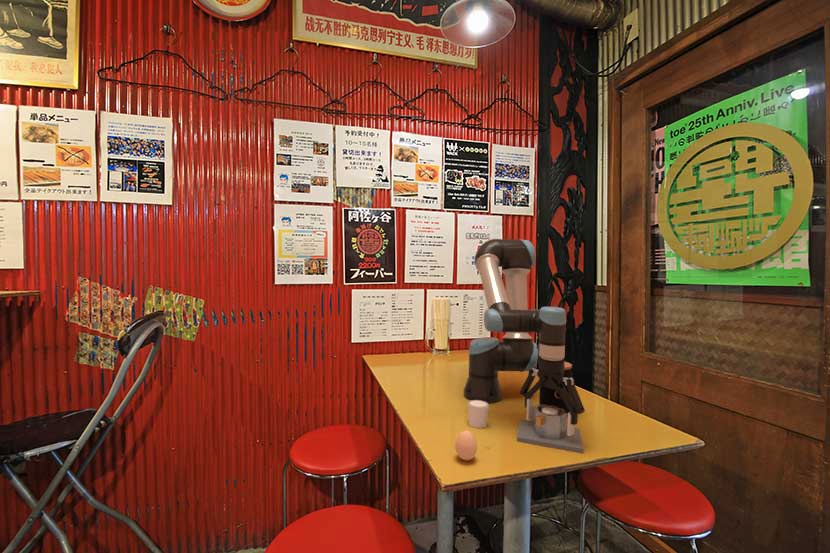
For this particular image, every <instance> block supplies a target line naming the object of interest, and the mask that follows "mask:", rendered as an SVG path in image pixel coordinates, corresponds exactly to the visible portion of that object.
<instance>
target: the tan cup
mask: <svg viewBox="0 0 830 553" xmlns="http://www.w3.org/2000/svg"><path fill="white" fill-rule="evenodd" d="M489 407H490V403H487V402H485V401H481V400H468V402H467V410H468V411H467V412H468V424H469V426H470V427H472V428H475V429H484V428H486V427H487V423H488V414H489Z"/></svg>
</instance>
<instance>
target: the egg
mask: <svg viewBox="0 0 830 553" xmlns="http://www.w3.org/2000/svg"><path fill="white" fill-rule="evenodd" d="M454 447H455V452H456V455H457V456H458V457H459V458H460V459H461V460H463V461H470V460H472V459H473V458H474V457H475V456H476V454H477V451H478V443H477V440H476V437H475V435H474V434H473V433H472V432H471V431H469V430H463V431H461V432H460V433H459V434H458V436H457V437H456V440H455V445H454Z"/></svg>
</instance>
